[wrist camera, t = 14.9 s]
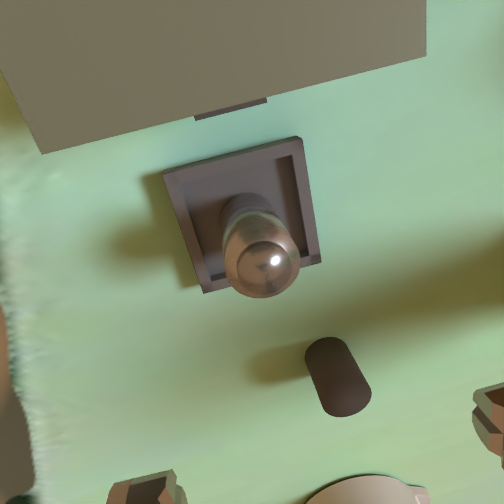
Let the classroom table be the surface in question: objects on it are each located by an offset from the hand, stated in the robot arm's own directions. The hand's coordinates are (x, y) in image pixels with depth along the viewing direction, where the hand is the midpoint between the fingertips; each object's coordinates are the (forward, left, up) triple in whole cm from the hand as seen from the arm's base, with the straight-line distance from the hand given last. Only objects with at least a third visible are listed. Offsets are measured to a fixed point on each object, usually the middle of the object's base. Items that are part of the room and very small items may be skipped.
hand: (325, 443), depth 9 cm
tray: (0, 0, -18) cm, 18 cm away
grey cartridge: (0, 0, -17) cm, 17 cm away
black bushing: (-15, -4, -18) cm, 23 cm away
